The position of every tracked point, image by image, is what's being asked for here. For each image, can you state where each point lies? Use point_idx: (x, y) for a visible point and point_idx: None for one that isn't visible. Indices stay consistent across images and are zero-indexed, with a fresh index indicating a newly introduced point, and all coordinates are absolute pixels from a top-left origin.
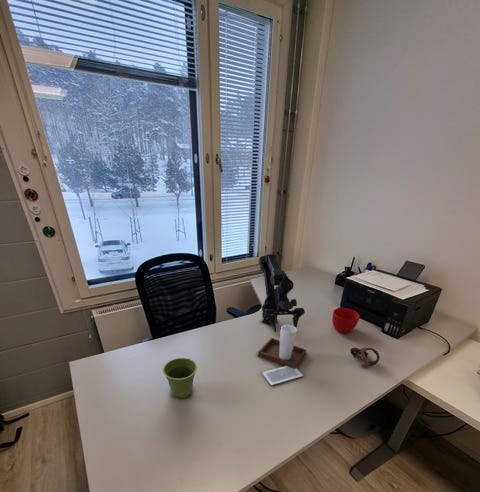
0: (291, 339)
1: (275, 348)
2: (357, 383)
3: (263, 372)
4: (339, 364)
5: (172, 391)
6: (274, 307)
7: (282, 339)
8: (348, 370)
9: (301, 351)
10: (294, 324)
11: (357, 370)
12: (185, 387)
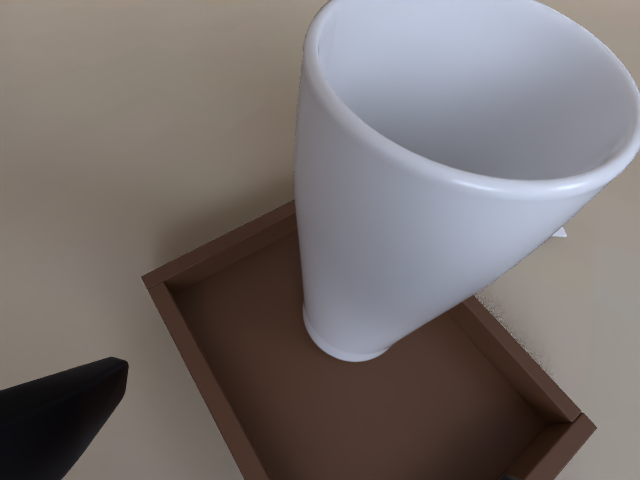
0: (418, 91)
1: (371, 470)
2: (121, 36)
3: (556, 232)
4: (50, 135)
5: None
6: None
7: (508, 171)
8: (61, 91)
9: (179, 308)
10: (5, 475)
11: (18, 75)
12: None
